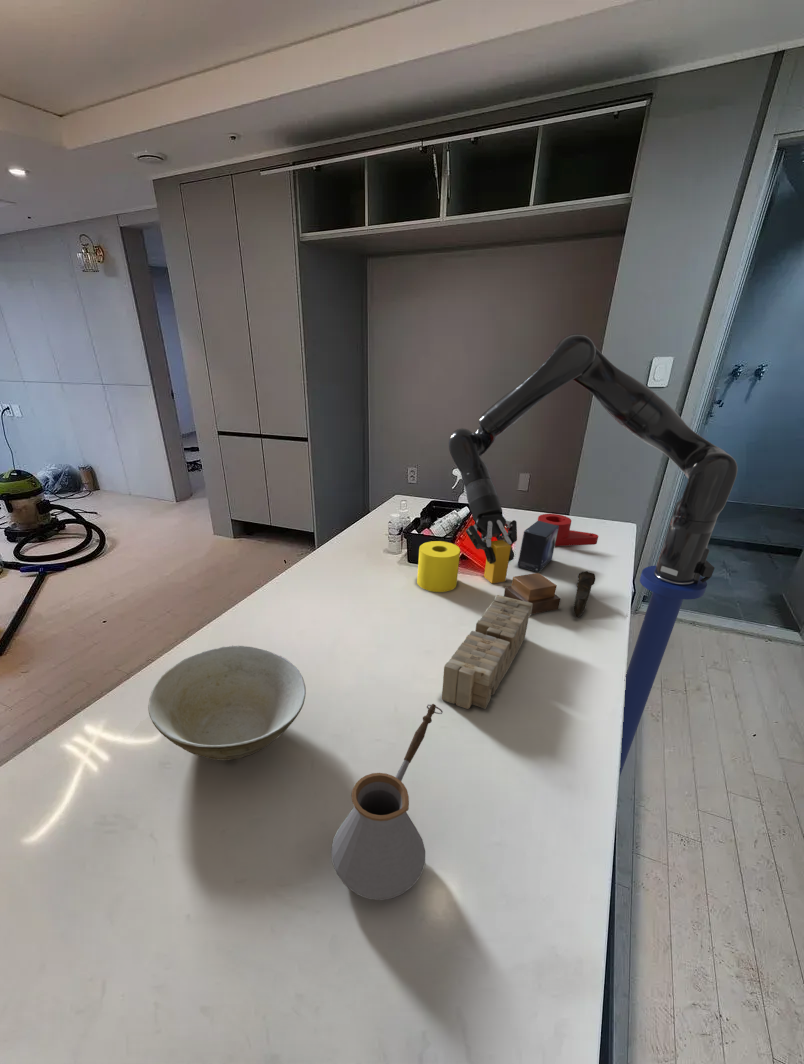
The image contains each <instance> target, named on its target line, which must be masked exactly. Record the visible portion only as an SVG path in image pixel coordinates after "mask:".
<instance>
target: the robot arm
mask: <svg viewBox="0 0 804 1064" xmlns="http://www.w3.org/2000/svg"><path fill="white" fill-rule="evenodd" d="M572 381H573V382H575V383H576V384H578V385H579V386H581V388H584V389H585V390H586V391H587V392H589V393H590V394H591V395H592V396H593V397H594V398H595V399H596V400H597V401H598V403H599V404H600V405H601V406H602V407H603V409H604V410H606V411H607V413H608V414H609V415H610V416H611V417H612V418H613V420H615V421H616V422H617V423H618V424H619V425H621V427H623V428H624V429H625V430H626V431H628V432H629V433H630V434H631V435H632V436H634V437H635V438H637V439H639V440H641V441H642V442H643V443H645V444H647V445H648V446H651V447H653V448H654V449H656V450H658V451H660V452H661V453H663V454H664V455H666V457H668V458H669V459H670V460H671V461H672V462H673V463H674V464H675V465H676V466H677V467H678V468H679V469H680V470H681V472H682V473H683V474H684V475H685V477H686V479H687V481H686V485H685V488H684V491H683V494H682V497H681V498H680V500H678V501H677V502H676V504H675V507H674V510H673V513H672V517H671V519H670V522H669V526H668V529H667V531H666V535H665V538H664V541H663V545H662V548H661V551H660V554H659V557H658V561H657V564H656V565H655V566H656V569H655V571H654V576H655V577H656V578H657V579H659V580H661V581H663V582H666V583H669V584H673V585H680V586H687V585H692V584H697V583H698V581H699V578H700V576H701V577H702V578H703V579H701V580H700V581H701V582H705V581H706V582H707V581H708V580H710V578H712V577H713V574H714V571H715V566H714V565H712V564H711V562H709V561H708V560H707V559H708V556H709V553H710V549H709V548H708V545H709V542H710V540H711V536H712V534H713V531H714V529H715V526H716V523H717V519H718V517H719V515H720V513H721V512H722V511H723V510H724V508H725V506H726V504H727V501H728V499H729V497H730V495H731V492H732V489H733V486H734V485H735V482H736V479H737V475H738V468H739V467H738V463H737V461H736V459H735V458H734V457H733V456H731V454H729V453H728V452H727V451H726V450H724V449H723V448H720V447H719V446H717V445H715V443H712V442H710V441H709V440H707V439H706V438H704V437H702V436H701V435H700V434H698V433H697V432H695V431H694V430H693V429H692V428H691V427H689V425H688V424H686V422H685V421H684V419H683V418H682V417H681V415H680V414H679V413H678V412H677V411H676V410H675V409H674V408H673V407H672V406H671V405H670V404H669V403H668V402H666V400H664V399H663V398H662V397H661V396H660V395H658V393H656V392H654V390H652V389H651V388H650V387H648V386H647V385H646V384H644V383H643V382H641V381H639V380H638V379H636V378H635V377H633V376H632V375H630V374H628V373H626V372H625V371H623V370H621V369H620V368H618V367H617V366H616V365H614V364H613V363H612V362H611V361H610V360H609V359H608V358H607V357H606V356H605V355H604V354H603V353H602V352H601V351H600V350H599V349H598V348H597V346H596V345H595V344H594V342H593V340H592V339H591V338H590V337H588V336H587V335H585V334H583V333H573V334H568V335H567V336H565V337H563V338H562V339H561V340H560V341H559V342H558V343H557V344H556V346H555V348H554V349H553V352H552V353H551V354H550V355H549V356H548V358H547V359H546V360H545V361H544V362H543V363H542V364H541V365H540V366H539V367H538V368H537V369H536V370H535V371H534V372H533V373H532V374H531V375H529V377H527V378H526V379H525V380H524V381H523V382H521V383H520V384H518V385H517V386H516V387H514V388H513V389H511V390H510V391H508V392H507V393H506V394H504V395H503V396H502V397H501V398H500V399H498V400H497V401H496V402H494V403H493V404H492V405H491V406H490V407H489V408H488V409H486V411H484V412H483V413H482V414H481V415H480V416H479V418H478V424H479V426H478V427H477V428H476V430H475V431H474V432H473V431H471V430H469V429H467V428H463V427H461V428H458V429H455V430H454V431H453V432H452V433H451V434H450V436H449V439H448V450H449V453H450V455H451V458H452V461H453V463H454V464H455V466H456V468H457V470H458V471H459V473H460V477H461V479H462V483H463V487H464V490H465V495H466V496H465V497H466V500H467V503H468V506H469V510H470V514H471V517H472V520H473V521H474V524H473V525H472V524H470V525H469V526H468V527H467V528H466V529H465V533H466V535H467V536H468V538H469V540H470V541H471V543H472V544H473V545H474V547H475V549H476V550H482V551H484V555H485V560H486V559H487V561H488V562H489V563H490V564H493V563H495V562H496V558H495V555H494V551H493V548H492V547H491V541H492V539H493V538H496V541H497V540H503V541H505V542H506V543H508V544H509V545H511V549H510V555H509V561H508V562H511V561H513V559H514V557H515V553H514V549H513V547H512V545H513V544H514V543H515V542H517V541H518V526H517V524H518V522H517V520H515V519H512V520H507V519H506V518H505V517H504V516H503V515H504V514H503V508H502V505H501V502H500V498H499V496H498V492H497V488H496V486H495V485H494V483H493V480H492V476H491V474H490V470H489V468H488V465H487V464H486V462H485V461H484V460H483V459H482V458H481V457H482V456H483V455H484V454H485V453H486V452H487V451H488V450H489V449H490V447H492V445H493V444H494V443H495V441H496V440H497V439H498V437H499V436H500V435H501V434H503V433H504V432H506V431H507V430H508V429H509V428H510V427H512V426H514V424H516V422H518V421H519V420H520V419H522V417H524V416H525V415H526V414H527V413H528V412H529V411H531V410H532V409H533V408H534V407H535V406H536V405H538V404H539V403H541V401H543V400H544V399H545V398H546V397H548V396H549V395H551V394H552V393H553V392H555V391H556V390H558V389H559V388H561V387H562V386H564V385H566V384H567V383H569V382H572ZM479 533H480V534H479Z"/></svg>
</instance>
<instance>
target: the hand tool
mask: <svg viewBox="0 0 804 1064" xmlns="http://www.w3.org/2000/svg"><path fill="white" fill-rule="evenodd" d="M595 582H596V575H595V573H593V572H591V571H588V570H585V571H580V572H579V573H578V574H577V583H576V587H577V588H576V591H575V593H576V594H575V597H574V603H573V613H574V616H575V618H576V619H577V618H580V617H581V616H582V614H584V612H585V610H586V606H587V604H588V601H589V597H590V594H591V590H592V587H593V586H594V584H595Z"/></svg>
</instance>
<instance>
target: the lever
mask: <svg viewBox="0 0 804 1064" xmlns="http://www.w3.org/2000/svg"><path fill="white" fill-rule="evenodd" d="M537 521H542V522H546V523H549V524H554V525H558V526H559V529H558V533H557V538H556V542H555V547H561V546H564V547H565V546H591V545H592V546H593V545H594V546H595V545H597V543H598V540H599V535H598V534H596V533H592V532H586V531H585V532H584V531H578V530H571V526H572V519H571V518H570V517H568V516H566V515H562V514H557V513H543V514H540V515H538V517H537Z"/></svg>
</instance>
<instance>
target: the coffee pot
mask: <svg viewBox="0 0 804 1064" xmlns="http://www.w3.org/2000/svg"><path fill="white" fill-rule="evenodd" d="M426 709H427V713H426V715H424V716H422V721H421V723H420V725H418V728H417V729H416V731H415V732H414V735H413V736H412V739H411V741H410V744H409V746H408V749H407V752H406V753H405V756H404V758H403V761H402V763H401V765H400V767H399V769H398V770H397V773H396V775H395V776H394V775H392V774H389V773H386V772H373V773H372V772H371V773H369V774H366V775H364V776H362V777H360V778H359V779H358V781H356V783H354V786H353V787H352V790H351V795H350V796H351V802H352V804H353V808H352V809H351V810H350V811H349V813H348V814H347V816H346V818H344V820H343V822H342V823H341V825H340V826H339V827H338V829H337V831H336V833H335V835H334V836H333V839H332V845H331V849H330V851H331V852H330V853H331V862H332V865H333V867H334V871H335V873H336V875H337V877H338V878H339V879H340V880H341V882H342V883H343V884H344V885H345V886H346V887H347V888H348V889H349V890H350V891H352V892H353V893H354V894H356V895H359V896H361V897H363V898H366V899H369V900H370V899H371V900H376V901H383V900H391V899H394V898H396V897H398V896H401V895H403V894H404V893H406V892H407V891H408V890H409V889H411V888H412V887H413V886H415V884H416V883H417V882H418V880H419V879H420V877H421V876H422V873H423V870H424V868H425V865H426V848H425V844H424V840H423V837H422V836H421V834H420V833H419V831H418V829H417V827H416V826H415V824H414V822H413V820H412V818H411V817H410V816H409V814H408V811H409V807H410V796H409V791H408V789H407V787H406V786H405V784H404V783H403V782H402V781H403V778H404V777H405V774H406V772H407V770H408V767H409V765H410V764H411V762H412V760H413V759H414V757H415V755H416V753H417V751H418V749H419V748H420V746H421V744H422V742H423V740H424V738H425V735H426V733H427V730H428V727H429V724H431V723H432V721H433V720H432V717H433V715H434V714H437V715H442V714H443V712H444V711H443V709H441V708H440V707H439V706H437V705H436V703H435V704H434V703H432V704H427V705H426ZM436 709H437V710H439V711H440V712H438V711H436Z"/></svg>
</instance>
